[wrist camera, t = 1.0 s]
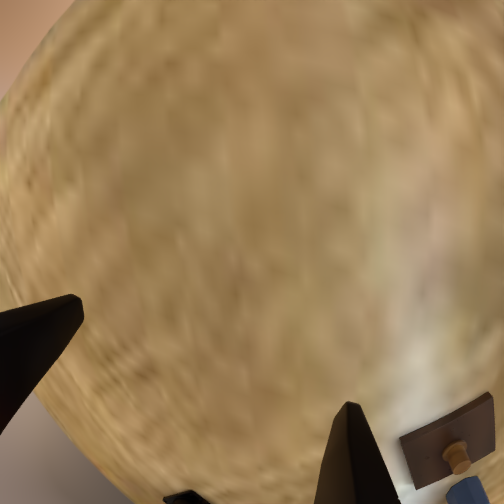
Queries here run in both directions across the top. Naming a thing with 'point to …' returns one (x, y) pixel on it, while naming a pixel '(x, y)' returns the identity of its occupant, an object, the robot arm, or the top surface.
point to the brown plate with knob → (451, 442)
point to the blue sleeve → (467, 492)
